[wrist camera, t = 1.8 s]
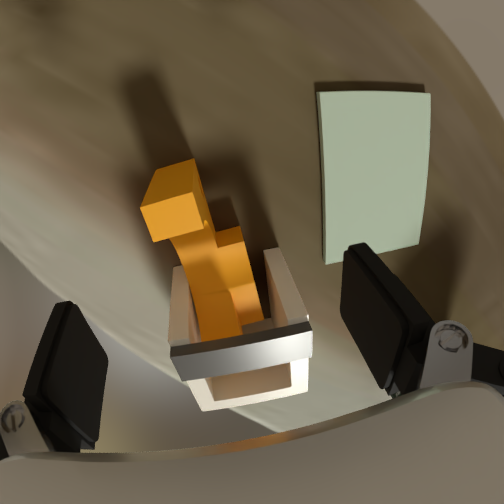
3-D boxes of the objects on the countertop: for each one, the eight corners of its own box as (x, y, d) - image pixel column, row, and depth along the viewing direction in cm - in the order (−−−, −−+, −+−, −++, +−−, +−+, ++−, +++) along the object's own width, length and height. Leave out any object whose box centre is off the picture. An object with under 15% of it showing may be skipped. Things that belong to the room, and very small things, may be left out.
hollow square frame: (278, 247, 24) (312, 324, 17) (285, 324, 28) (310, 399, 21) (173, 266, 23) (167, 351, 16) (198, 340, 28) (202, 420, 21)
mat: (425, 92, 19) (430, 93, 18) (414, 240, 26) (418, 244, 25) (316, 91, 18) (319, 92, 18) (323, 260, 25) (325, 264, 25)
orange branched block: (257, 293, 26) (273, 351, 21) (206, 305, 26) (210, 366, 20) (220, 150, 20) (230, 182, 14) (156, 168, 19) (140, 207, 14)
